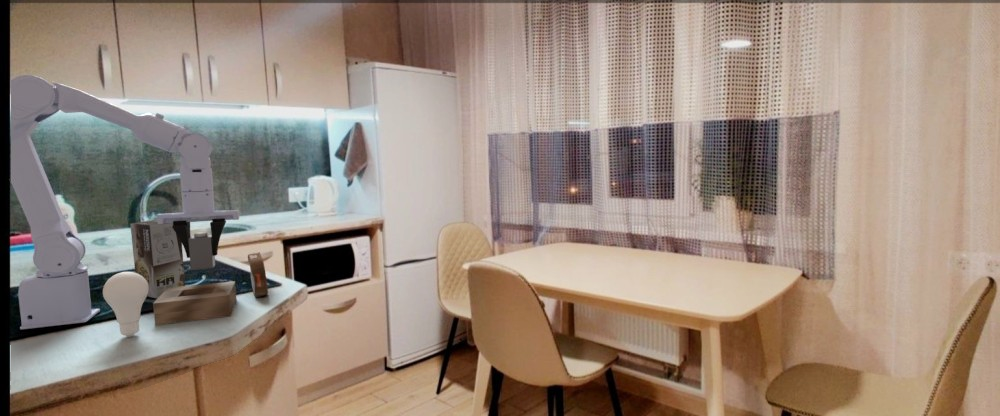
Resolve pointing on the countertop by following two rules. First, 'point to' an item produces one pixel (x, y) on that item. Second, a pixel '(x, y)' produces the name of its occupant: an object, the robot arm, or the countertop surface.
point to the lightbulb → (126, 299)
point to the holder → (195, 303)
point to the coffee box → (157, 256)
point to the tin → (258, 274)
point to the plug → (201, 251)
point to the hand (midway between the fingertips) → (202, 255)
